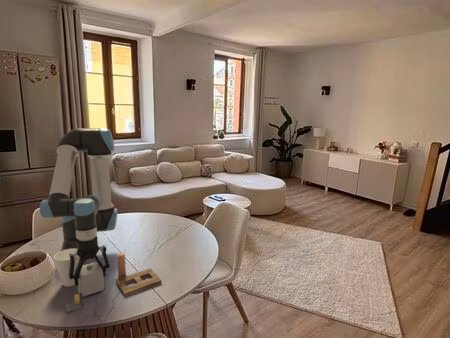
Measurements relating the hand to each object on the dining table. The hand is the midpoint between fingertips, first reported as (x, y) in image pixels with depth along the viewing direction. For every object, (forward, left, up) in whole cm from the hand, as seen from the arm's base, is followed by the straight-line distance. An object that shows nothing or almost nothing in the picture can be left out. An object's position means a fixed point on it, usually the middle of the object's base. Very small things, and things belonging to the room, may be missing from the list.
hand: (91, 287), depth 121 cm
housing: (0, 0, 0) cm, 0 cm away
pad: (+7, -8, -1) cm, 11 cm away
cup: (-11, -6, -1) cm, 13 cm away
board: (+6, +18, -1) cm, 19 cm away
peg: (-4, +14, -1) cm, 15 cm away
